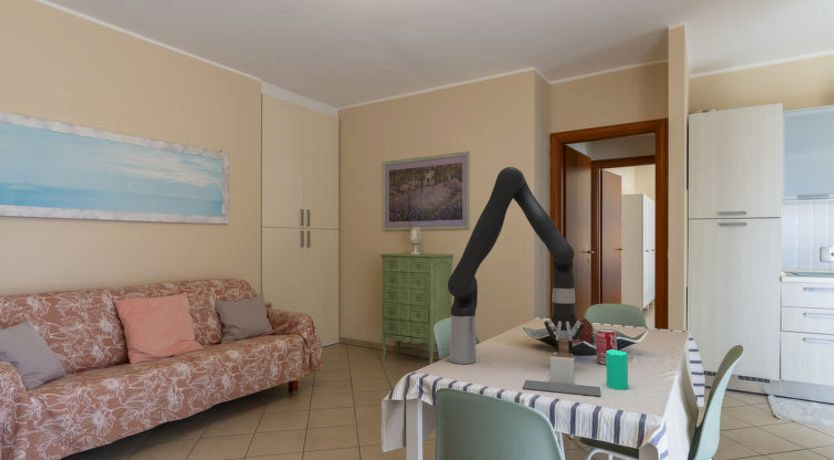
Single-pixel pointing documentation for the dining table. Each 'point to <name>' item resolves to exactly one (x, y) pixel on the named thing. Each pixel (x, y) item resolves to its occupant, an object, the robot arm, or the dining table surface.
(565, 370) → the tile
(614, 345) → the soda can
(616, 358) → the candle
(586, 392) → the mat
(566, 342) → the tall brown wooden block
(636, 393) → the dining table surface
